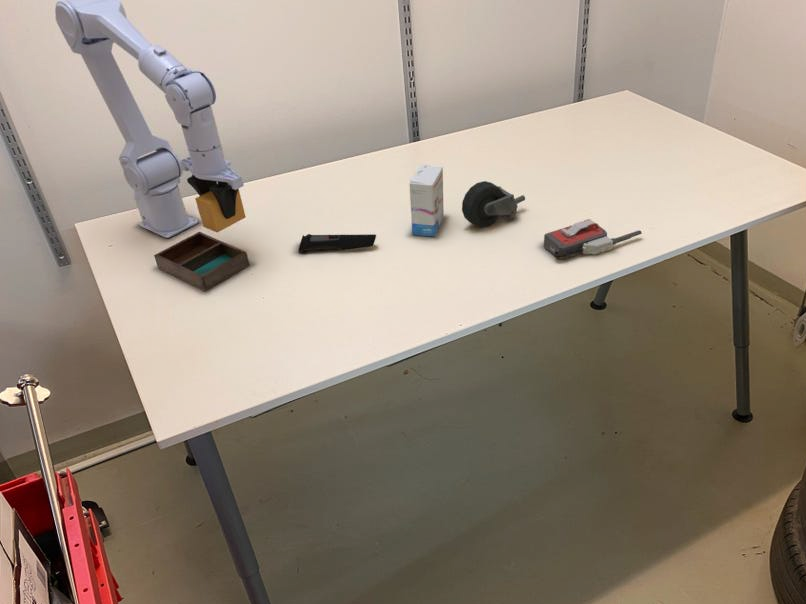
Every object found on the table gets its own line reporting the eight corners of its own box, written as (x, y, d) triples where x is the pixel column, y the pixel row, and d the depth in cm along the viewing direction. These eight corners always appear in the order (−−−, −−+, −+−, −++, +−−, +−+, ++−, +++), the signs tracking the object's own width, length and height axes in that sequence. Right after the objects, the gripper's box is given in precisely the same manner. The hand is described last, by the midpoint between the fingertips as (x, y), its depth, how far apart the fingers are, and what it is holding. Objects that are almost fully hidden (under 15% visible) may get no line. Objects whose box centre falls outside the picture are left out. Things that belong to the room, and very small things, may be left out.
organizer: (158, 268, 139) (153, 255, 137) (203, 244, 146) (199, 231, 144) (205, 291, 133) (201, 278, 131) (249, 265, 140) (246, 252, 138)
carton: (203, 226, 137) (194, 198, 133) (231, 211, 141) (224, 183, 138) (217, 232, 135) (209, 204, 131) (245, 217, 140) (238, 189, 136)
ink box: (435, 237, 147) (432, 184, 139) (411, 235, 148) (407, 182, 140) (445, 217, 153) (443, 165, 146) (422, 215, 154) (419, 163, 146)
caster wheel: (475, 239, 148) (532, 211, 154) (471, 198, 141) (530, 171, 147) (460, 228, 152) (516, 201, 157) (454, 187, 145) (513, 161, 151)
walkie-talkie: (561, 268, 138) (643, 240, 145) (563, 248, 135) (646, 221, 143) (536, 247, 144) (616, 221, 151) (537, 227, 141) (618, 202, 148)
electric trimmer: (376, 253, 143) (375, 239, 141) (298, 254, 143) (295, 240, 140) (378, 243, 146) (376, 229, 144) (301, 244, 145) (298, 230, 143)
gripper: (249, 146, 128) (264, 214, 136) (195, 128, 134) (213, 195, 143) (217, 161, 123) (235, 230, 132) (163, 141, 130) (184, 209, 138)
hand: (222, 213), depth 137 cm, fingers closed on carton, 4 cm apart
